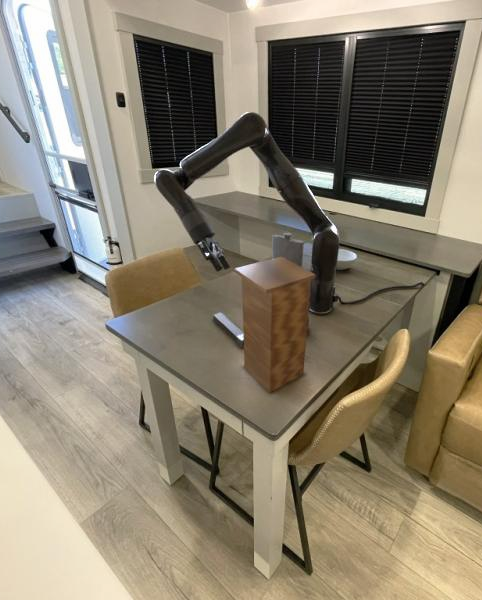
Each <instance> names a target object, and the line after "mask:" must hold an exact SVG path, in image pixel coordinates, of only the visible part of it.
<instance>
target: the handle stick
mask: <svg viewBox="0 0 482 600" xmlns="http://www.w3.org/2000/svg"><path fill="white" fill-rule="evenodd" d="M212 318H213V321H214V322H215V323H216V324H217V326H219V327H220V328H221V329H222V330H223V331H224V332H225V333H226V334H228V335H229V337H230V338H231V339H233V340H234V341H235V342H236V345H237V346H238V348H240V349H241V350H242V349H244V336H243V330H242V329H241V328H239V327H238V326H237V325H236V324H234V323H233V321H231V320H230V318H228V317H227V316H225V315H224V313H222V312H218V313H215V314H213V317H212Z"/></svg>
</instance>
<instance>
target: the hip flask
mask: <svg viewBox="0 0 482 600" xmlns="http://www.w3.org/2000/svg"><path fill="white" fill-rule="evenodd" d="M271 245H272V246H271V247H272V248H271V259H274V258H278V257H283V258H285V259H287V260H289V261H291V262H293V263H295V264H297V265H299V266H300V267H302V268H303V260H304V247H305V246H304V245H305V241H304V240H301V239H295V238H292V233H291V232H283V235H281V234H280V235H279V234H272V244H271Z"/></svg>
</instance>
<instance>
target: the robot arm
mask: <svg viewBox="0 0 482 600" xmlns="http://www.w3.org/2000/svg"><path fill="white" fill-rule="evenodd" d="M247 148H249V149H250V150H251V151H252V152H253V153H254V155H255V156H256V157H257V158H258V160H259V162H260V163H261V164H262V166H263V167H264V169H265V171H266V174H267V175H268V177H269V179H270V181H271V183H272V185H273V186H274V188H275V189H276V191H277V193H278V194H279V195H280V197H281V198H282V200H283V201H284V203H285V204H286V205H287V206H288V207H289V208H290V209H291V210H292V211H293V212H294V213H296V214H297V215H298V216H299V218H301V219H302V220H303V221H304V223H305V224H306V225H307V228H308V229H309V230H310V232H311V234H312V236H313V239H312V246H311V261H310V262H311V265H310V266H311V267H310V272H312V273H314V274H316V278H314V279H311V286H310V293H311V297H310V309H309V312H310V313H312V314H315V315H327V314H330V313H331V312H332V310H333V309H334V303H337V302H339V303H340V304H341V305H353V304H356V303H360V302H361V303H362V302H364V301H366V300H367V299H368V298H370V297H372V296H374V295H377V293H380V292H383V291H387V290H393V289H410V288H415V287H419V286H420V285H422V286H425V283H424V282H421V281H420V282H417V283H415V284H413V285H395V286H388V287H387V286H386V287H384V288H383V287H382V288H380V289H378V290H377V289H376V290H375V291H374V292H371V293H369V294H368V295H366V296H365V297H363V298H359V299H357V300H352V301H343V300H342V298H341V296H339V294H338V293H336V286H335V280H336V273H337V270H336V266H337V259H338V251H339V249H340V242H341V241H340V240H341V239H340V238H341V237H340V236H341V235H340V232H339V230H338V228H337V227H336V225H335V224H334V223H333V222H332V221H331V220H330V218H329V217H328V216H327V215H326V214H325V212H324V211H323V210H322V208H321V207H320V205H319V203H318V201H317V200H316V197H315V196H314V194H313V192H312V191H311V189H310V188H309V186H308V184H307V182H306V181H305V180H304V178H303V177H302V175H301V173H300V172H299V171H298V170H297V169H296V167H295V166H294V165H293V163H292V162H291V161H290V160H289V159H288V157H286V155H285V154H284V153H283V152H282V150H281V149H280V148H279V146H278V145H277V143H276V141H275V140H274V137H273V135H272V134H271V131H270V130H269V128H268V126H267V123H266V121H265V118H263V116H261V115H260V114H259V113H258V112H254V111H247V112H244V113H243V114H241V115H240V117H239V118H237V120H236V121H235V122H234V123H233V124H232V125H231V126H229V127H228V128H227V129H226V130H225V131H224V132H223V133H221V134H220V135H219V136H217V137H216V138H214V139H212V140H211V141H210V142H208V143H207V144H205V145H203V146H201V147H200V148H198V149H197V150H195V151H193V152H192V153H191V154H189V155H187V156H186V157H184V158H183V159H182V160H181V161H180V163H179V167H177V169H175V170H174V171H172V170H171V169H167V168H161V169H158V170H157V171H156V172H155V174H154V178H153V179H154V181H153V182H154V184H155V187H156V189H157V190H158V192H159V193H160V195H162V197H163V199H164V200H165V201H167V203H168V204H169V205H170V207H172V208H173V210H174V212H175V213H176V215H177V217H178V218H179V220H180V222H181V224H182V226H183V228H184V229H185V231H186V233H187V234H188V236H189V237H190V239H191V241H192V242H193V243H194V245H196V246H197V248H198V249H199V251H200V252H201V254H202V256H203V257H204V259H205V261H207V262H210V263H211V265H212V267H213V268H214V270H215V271H216V272H220V271H222V270H223V269H224V270H229V269H230V268H231V265H230V263H229V262H228V260H227V258H226V256H227V255H226V253H225V250H224V249H223V247H222V246H221V244H220V243H219V242H218V240H215V241H214V239H213V237H214V236H215V235H216V233H215V230H214V229H213V228H212V226H211V224H210V223H209V221H208V219H207V218H206V216H205V214H204V213H203V212H202V211H201V210H200V208H199V206H198V204H197V203H196V202H195V200H194V199H193V198H192V196H191V195H189V194H188V193H186V190H188V189H189V188H190V187H191V186H192V185H193V184H194V183H195V182H196V181H197V180H199V179H200V178H202V177H204V176H205V175H207V174H208V173H210V172H211V171H213V170H214V169H216V168H217V167H218V166H220V164H222V163H223V162H224V161H226V160H227V159H228V158H229V157H231V156H232V155H234V154H236V153H237V152H239V151H242V150H244V149H247Z"/></svg>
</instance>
